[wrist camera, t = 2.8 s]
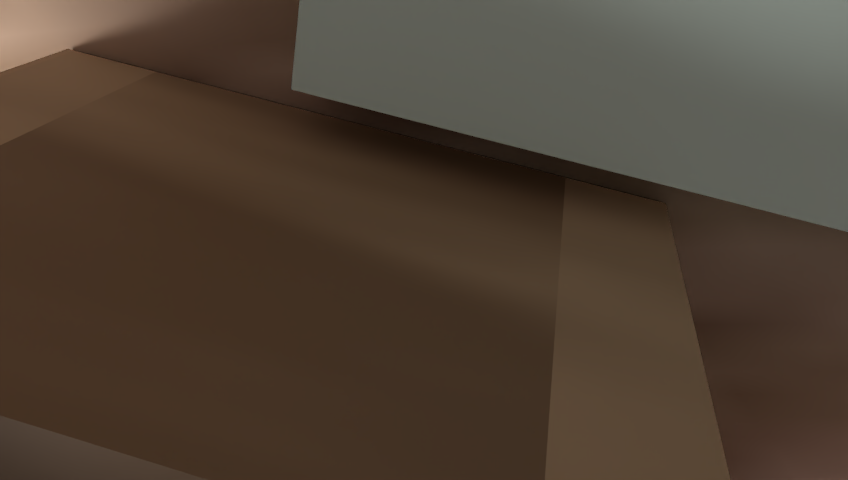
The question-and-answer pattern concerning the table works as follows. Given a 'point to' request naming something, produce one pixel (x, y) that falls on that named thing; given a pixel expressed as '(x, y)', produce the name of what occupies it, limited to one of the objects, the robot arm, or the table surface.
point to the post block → (612, 85)
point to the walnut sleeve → (321, 300)
